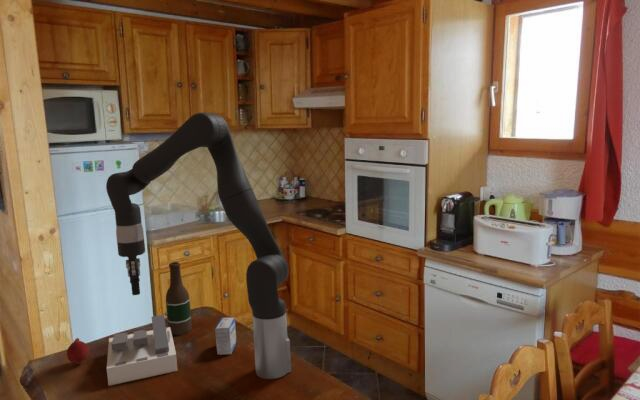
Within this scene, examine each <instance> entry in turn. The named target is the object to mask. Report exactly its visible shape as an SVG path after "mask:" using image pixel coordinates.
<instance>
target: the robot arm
mask: <svg viewBox="0 0 640 400" xmlns="http://www.w3.org/2000/svg"><path fill="white" fill-rule="evenodd" d="M199 148H207V149H208V151H209V154H210V155H211V157H212V159H213V163H214V166H215V168H216V169H215V170H216V183H217V194H218V199H219V201H220V202H221V203H220V204H221V205H222V208H223V210H224V212H225V215H226V217H227V218H228V220H229V221H230V223H231V224H233V226H234V227H235V228H236V229H237V230H238V231H239V232H240V233H241V234H242V235H243V236H244V237H245V238H246V240H247V241H248V242H249V243H250V245H251V248H252V250H253V251H254V252H253V253H254V254H255V256H256V257H255V258H256V259H254V260H253V261H251V262H250V264H248V267H247V269H246V275H245V276H246V289H247V298H248V299H247V300H248V304H249V306H250V308H251V313H252V328H253V345H254V347H253V348H254V363H255V364H254V365H255V374H256V375H257V377H259V378H260V379H264V380H276V379H280V378H282V377H284V376H285V375H287V374H289V373H292V361H291V341H290V339H289V337H288V325H287V323H288V322H287V305H286V302H285V300H284V299H282V298H279V297H280V296H279V289H278V288H279V286H280V285H281V284H283V283H284V282H285V281H286V280H287V279H288V277H289V273H290V269H289V264H288V261H287V260H286V257H285V255H284V253H283V252H282V250H281V248H280V246H279V245H278V243H277V241H276V240H275V238H274V236H273V233H272V231H271V230H270V227H269V224H268V222H267V221H266V218H265V215H264V213H263V212H262V209H261V206H260V204H259V201H258V199H257V196H256V194H255V192H254V189H253V187H252V185H251V183H250V181H249V178H248V177H247V174H246V172H245V169H244V167H243V165H242V162H241V160H240V158H239V156H238V153H237V150H236V147H235V143H234V139H233V137H232V134H231V130H230V128H229V125H228V122H227V121H226V120H225V118H223V117H222V116H221V115H219V114H217V113H211V112H196V113H194V114H193V115H191V116H190V117H188V118H187V120H185V121H184V122H183V123H182V125H180V127H179V128H178V129H177V130H176V131H175V132H173V134H171V135H170V136H169V137H168V138H167V139H165V140H164V141H163V142H162V143H161V144H159V145H158V146H156V147H155V148H154V149H152V150H151V151H150V152H147V153H146V154H145V155H143V156H141V158H139V159H138V160H137V161H135V162H134V163H133V165H132V168H131V169H129V170H126V171H123V172H122V171H121V172H116V173H112V174H111V175H109V176H108V178H107V180H106V182H105V183H106V184H105V185H106V186H105V187H106V188H105V190H106V193H107V196H108V199H109V201H110V203H111V206H112V208H113V210H114V217H115V225H116V226H115V228H116V229H115V230H116V231H115V235H116V244H117V255H118V256H119V257H122V258H127V259H126V260H125V267H126V269H127V277H128V278H129V283H130V285H131V294H132V296H139V295H140V294H141V288H140V281H141V280H140V276H141V268H140V267H141V261H140V258H139V257H137V256H141V255H144V253H146V244H145V234H144V228H143V224H142V213H141V208H140V205H138V203H134V202H133V203H132V200H131V198H130V196H133V195H136V194H137V193H140V192H141V191H143V190H144V189H145V188H146V187H147V186H148V185H149V184H151V182H152V181H155V180H156V179H158V178H159V177H161V176H163V175H164V174H165V173H166V172H168V171H169V170H170V169H171V168H172V167H173V166H174V165H175V163H177V162H178V160H179V159H180V158H182V157H183V156H185V155H186V154H187V153H189V152H191V151H193V150H196V149H197V150H198V149H199Z"/></svg>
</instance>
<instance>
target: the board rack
mask: <svg viewBox="0 0 640 400" xmlns="http://www.w3.org/2000/svg"><path fill="white" fill-rule="evenodd" d="M146 332H147V343H146V344H140V345H135V346H134V343H133V336H134V333H131V334H130V333H129V334H127V336H128V339H127V347H126V348H123V349H117V350H112V341H113V338H114V336H113V337H109V338H108V348H107V357H106V359H107V361H106V374H107V375H106V376H107V385H108V387H109V386H114V385H118V384H122V383H127V382H132V381H137V380H141V379H146V378H150V377H156V376H159V375H163V374H169V373H173V372H178V369H179V368H178V360H177V353H176V348H175V344H174V343H175V342H174V338H173V335H172V333H171V329H170V327H168V326H166V332H167V339H168V345H169V351H168V352H164V353H159V354H156V351H155V342H154V334H153V329H151V330H146Z"/></svg>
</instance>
